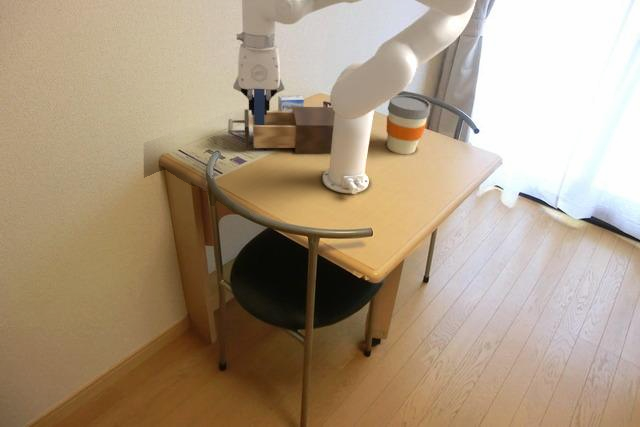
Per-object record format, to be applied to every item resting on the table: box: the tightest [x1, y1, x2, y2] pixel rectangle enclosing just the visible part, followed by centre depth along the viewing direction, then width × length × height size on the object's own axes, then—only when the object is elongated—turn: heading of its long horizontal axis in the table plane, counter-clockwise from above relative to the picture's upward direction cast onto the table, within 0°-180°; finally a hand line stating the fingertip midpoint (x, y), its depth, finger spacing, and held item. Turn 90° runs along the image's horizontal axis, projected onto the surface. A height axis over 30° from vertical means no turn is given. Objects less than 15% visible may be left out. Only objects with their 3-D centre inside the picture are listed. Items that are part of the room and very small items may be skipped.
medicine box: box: [277, 95, 305, 112], centre depth 148 cm, size 8×4×9 cm, turn 105°
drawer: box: [227, 108, 296, 151], centre depth 134 cm, size 22×12×7 cm, turn 98°
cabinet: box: [292, 106, 335, 155], centre depth 136 cm, size 19×14×9 cm
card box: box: [253, 89, 266, 125], centre depth 114 cm, size 3×7×9 cm, turn 8°
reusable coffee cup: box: [386, 94, 431, 155], centre depth 136 cm, size 12×12×15 cm
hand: (259, 112), depth 116 cm, fingers closed on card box, 2 cm apart
